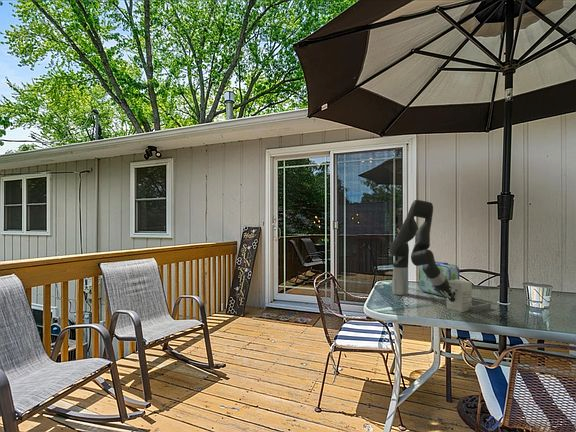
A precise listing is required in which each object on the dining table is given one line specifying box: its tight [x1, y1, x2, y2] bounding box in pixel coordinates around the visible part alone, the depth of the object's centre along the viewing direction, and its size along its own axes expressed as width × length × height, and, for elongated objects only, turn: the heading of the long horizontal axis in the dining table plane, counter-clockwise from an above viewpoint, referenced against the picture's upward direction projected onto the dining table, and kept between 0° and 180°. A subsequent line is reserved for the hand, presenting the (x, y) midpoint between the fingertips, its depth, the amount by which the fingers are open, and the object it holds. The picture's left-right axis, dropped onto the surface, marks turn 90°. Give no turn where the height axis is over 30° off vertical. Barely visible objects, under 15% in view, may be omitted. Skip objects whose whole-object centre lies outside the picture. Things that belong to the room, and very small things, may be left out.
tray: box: [444, 298, 492, 314], centre depth 188 cm, size 16×16×3 cm
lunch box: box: [418, 261, 461, 298], centre depth 220 cm, size 26×11×21 cm, turn 25°
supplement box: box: [446, 279, 473, 313], centre depth 184 cm, size 9×9×15 cm
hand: (452, 300), depth 181 cm, fingers closed
